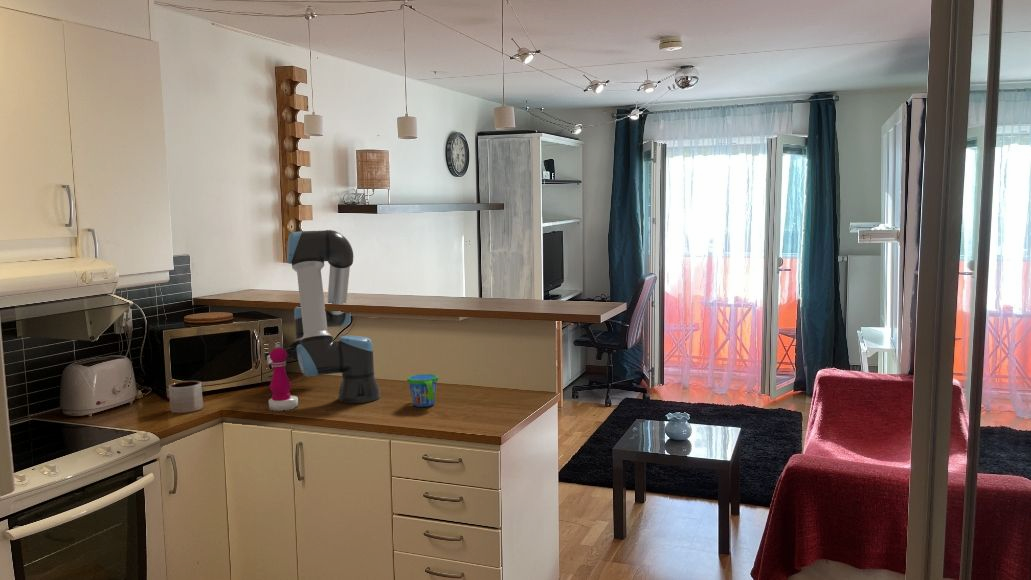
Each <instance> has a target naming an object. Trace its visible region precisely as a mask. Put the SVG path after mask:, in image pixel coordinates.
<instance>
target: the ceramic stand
mask: <svg viewBox="0 0 1031 580" xmlns="http://www.w3.org/2000/svg"><path fill="white" fill-rule="evenodd" d="M297 406H298V407H299V398H298V396H296V395H290V398H289V399H287V400H282V401H274V400H272V397H271V398H269V399H268V409H269V410H270V411H272V410H273V412H274V411H275V412H282V411H283V410H285V411H289V410H290V409H291V410H294V409H296V408H295V407H297ZM298 407H297V408H298ZM293 408H294V409H293ZM291 410H290V411H291ZM283 412H284V411H283Z"/></svg>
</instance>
